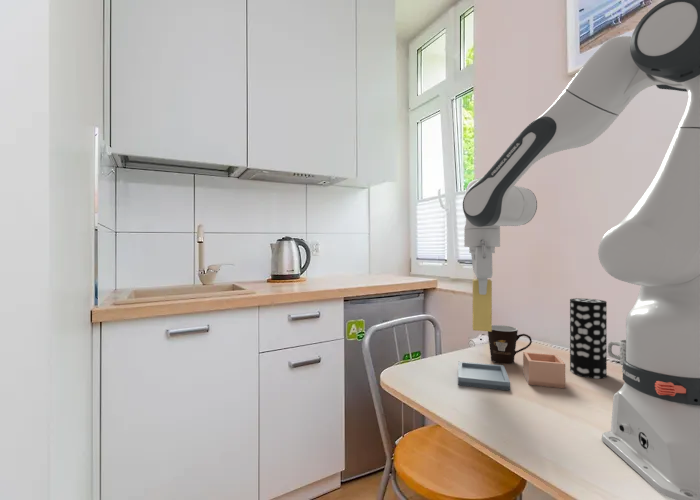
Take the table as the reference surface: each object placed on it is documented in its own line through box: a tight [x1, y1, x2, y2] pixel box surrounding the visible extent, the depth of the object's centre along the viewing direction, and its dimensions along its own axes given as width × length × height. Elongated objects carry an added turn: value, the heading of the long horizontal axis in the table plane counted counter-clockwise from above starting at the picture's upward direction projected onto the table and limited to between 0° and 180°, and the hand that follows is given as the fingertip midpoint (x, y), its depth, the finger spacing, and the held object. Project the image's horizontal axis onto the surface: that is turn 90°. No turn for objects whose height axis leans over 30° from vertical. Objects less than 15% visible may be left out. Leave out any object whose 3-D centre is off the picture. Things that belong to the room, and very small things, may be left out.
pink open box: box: [522, 351, 566, 389], centre depth 91 cm, size 8×8×6 cm
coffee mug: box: [487, 324, 533, 365], centre depth 106 cm, size 12×9×10 cm
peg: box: [472, 278, 493, 332], centre depth 93 cm, size 4×4×13 cm
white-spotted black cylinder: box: [569, 297, 608, 379], centre depth 96 cm, size 8×8×20 cm
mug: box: [607, 339, 626, 366], centre depth 105 cm, size 10×7×7 cm, turn 32°
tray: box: [457, 361, 511, 392], centre depth 93 cm, size 13×12×2 cm
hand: (481, 292), depth 93 cm, fingers closed on peg, 4 cm apart
